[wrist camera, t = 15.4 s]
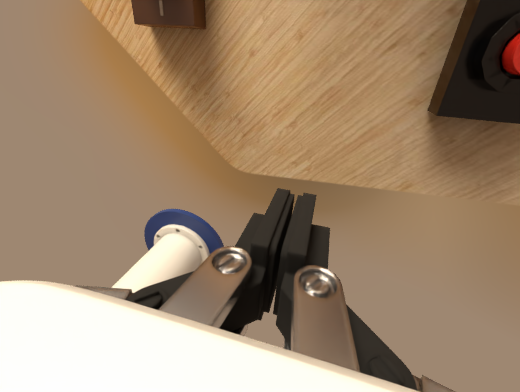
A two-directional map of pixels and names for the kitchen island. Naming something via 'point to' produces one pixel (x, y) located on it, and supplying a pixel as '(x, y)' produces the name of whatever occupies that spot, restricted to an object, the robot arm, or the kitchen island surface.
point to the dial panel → (170, 13)
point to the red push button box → (480, 65)
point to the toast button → (512, 56)
